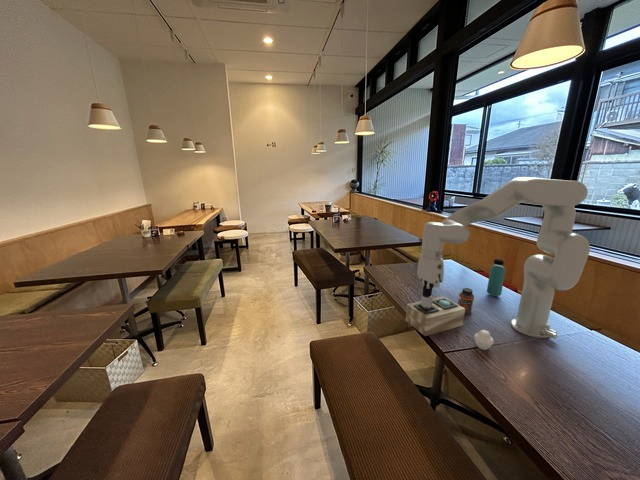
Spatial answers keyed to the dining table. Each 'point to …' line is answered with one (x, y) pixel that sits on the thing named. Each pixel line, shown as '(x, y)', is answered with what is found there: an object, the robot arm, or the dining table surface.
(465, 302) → the supplement bottle
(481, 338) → the white rounded ridged piece
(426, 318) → the socket block
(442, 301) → the teal peg
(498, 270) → the beverage bottle
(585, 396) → the dining table surface
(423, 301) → the steel peg
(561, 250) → the robot arm
